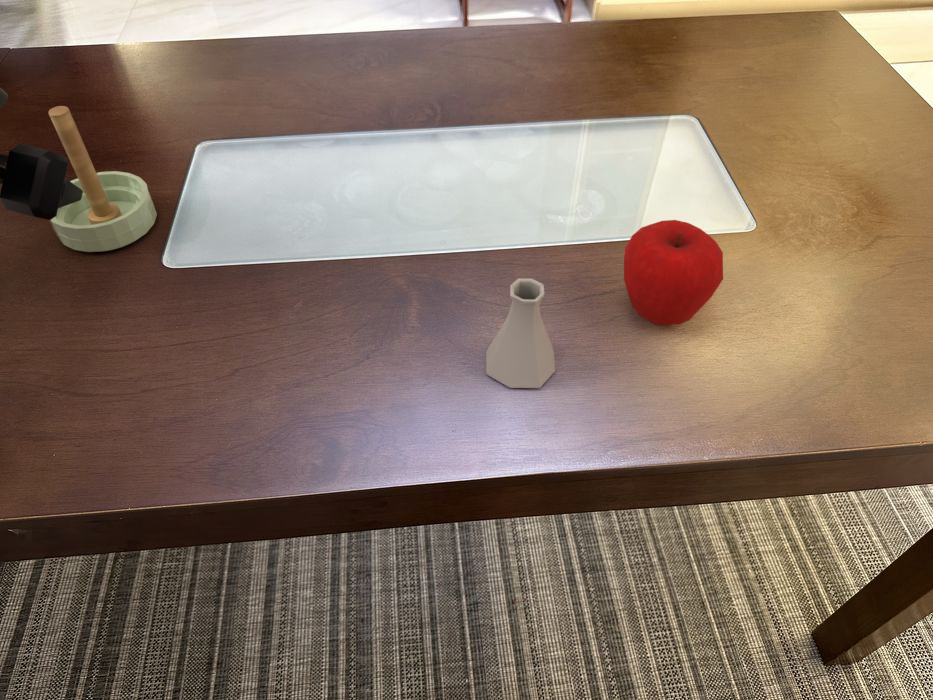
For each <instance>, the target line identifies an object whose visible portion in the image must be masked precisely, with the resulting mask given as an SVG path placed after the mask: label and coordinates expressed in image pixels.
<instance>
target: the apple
mask: <svg viewBox="0 0 933 700" xmlns="http://www.w3.org/2000/svg"><path fill="white" fill-rule="evenodd" d="M723 280H724V252H723V250H722V249H721V247H720V245H719V244H718V242H717V241H716V240H715V239H714V238H713V237H712V236H711V235H709V234H708V233H707V232H706V231H704V230H703V229H701V228H700V227H698V226H695V225H694V224H692V223H689V222H686V221H681V220H678V219H667V220H660V221H656V222H654V223H651V224H648V225H645V226H642V227H640V228H639V229H638V230H637V231H636V232H634V234H633V233H632V235H631V237H630V238H629V240H628V242H627V244H626V246H625V247H624V255H623V281H624V285H625V288H626V292H627V295H628V298H629V302H630V305H631V308H632V309H633V310H634V312H636V314H637V315H638V316H639V317H641V318H642V319H644V320H646V321H648V322H650V323H651V324H655V325H659V326H674V325H675V326H677V325H681V324H683V323H686V322H688V321H690V320H691V319H692V318H693V317H694V316H695V315H696V314H697V313H698V312H699V311H700V310H701V309H702V308H703V306H705V305H706V303H708V302H709V300H710V299H711V298H713V296H714V294H715V292H717V290H718V288H719V287H720V285H721V283H722V282H723Z"/></svg>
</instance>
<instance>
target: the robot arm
mask: <svg viewBox="0 0 933 700" xmlns="http://www.w3.org/2000/svg"><path fill="white" fill-rule="evenodd" d="M8 100H9V95H8V93H7V92H6V91H5V90H4V89H3V88H1V87H0V110H1V109H2V107H5V106H6V104H7V103H8ZM68 166H69V162H68V159H67V157H66V156H65V155H63V154H60V153H58V152H55V151H52V150H49V149H48V150H47V149H44V148H40V147H36V146H32V145H28V144H24V143H18V144H17V145H16V146H14V147H12V148H11V149H9V150H8V155H7V154H3V153H0V185H1V188H0V201H1V203H2V205H3V208H4V209H5V210H9V211H12V212H15V213H19V214H23V215H27V216H30V217H33V218H39V219H42V220H47V221H49V220H51V219H53V218H54V217H55V216H57V211H58V208H61V207H63V206H66V205H69V204H72V203H75V202H77V201H80V200H81V198H82V193H83V191H82V189H80V188H79V187H77V186H76V185H74V184H73V183H72V182H70V181H71V180H69V179H67V178H66V175H67V171H68Z"/></svg>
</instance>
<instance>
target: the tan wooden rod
mask: <svg viewBox="0 0 933 700" xmlns="http://www.w3.org/2000/svg"><path fill="white" fill-rule="evenodd" d="M47 114H48V116H49V118H50V120H51V122H52V124H53V126H54V128H55V131H56V134H57V136H58V138H59V140H60V142H61V145H62V147H63V149H64V150H65V153H66V155H67V157H68V159H69V162H70V164H71V166H72V169H73V170H74V173H75V175H76V177H77V178H78V179H79V182H80V184H81V186H82V188H83V190H84V193H85V195H86V197H87V199H88V201H89V203H90V206H91V209H90V210H89V211H88V214H87V217H88V219H89V221H90V223H91V225H94V224H99V223H103V222H108V221H111V220H113V219H115V218H118V217H120V216H122V213H121V211H120V209H119V207H118V206H117V205H116V204H113V203H109V201H108V199H107V197H106V194H105V192H104V190H103V187H102V185H101V183H100V180H99V178H98V176H97V173H98V172H97V171H96V169H95V166H94V164H93V162H92V160H91V157H90V155H89V151H88V150H87V148H86V146H85V143H84V141H83V139H82V136H81V134H80V131H79V129H78V127H77V124H76V122H75V120H74V117H73V115H72V113H71V111H70V109H69V107H68V106H66V105H57V106H54V107H52V108H50V109H49V110H48V113H47Z"/></svg>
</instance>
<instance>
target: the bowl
mask: <svg viewBox="0 0 933 700" xmlns="http://www.w3.org/2000/svg"><path fill="white" fill-rule="evenodd" d="M96 173H97V176H98V178H99V180H100V183H101V185H102V187H103V190H104V192H105V194H106V197H107V199H108V201H109V203H113V204H116V205H117V206H118V207H119V209H120V211H121V213H122V216H120V217H118V218H115V219H113V220H111V221H108V222H103V223H99V224H94V225H91V223H90V221H89V219H88V217H87V214H88V211H89V210H90V209H91V206H90V203H89V201H88V199H87V197H86V195H85V193H84V190H83V188H82V186H81V184H80V182H79V179H78V177H77V178H75V179H71V180H69V181H70V182H72V183H73V184H74V185H76V186H77V187H79V188H80V189H82V191H83V193H82V198H81V200H80V201H77V202H75V203H72V204H69V205H66V206H63V207H61V208H58V211H57V216H55V217H54V218H53V219H51V220H48V221H49V223H50V225H51V227H52V229H53V231H54V233H55V235H56V236H57V239H58V240H59V241H60V242H61V243H62V245H64V246H66V247H68V248H69V249H72V250H74V251H78V252H84V253H85V252H86V253H96V252H97V253H98V252H99V253H100V252H109V251H113V250H118V249H121V248H124V247H126V246H128V245H130V244H132V243H134V242H136V241H137V240H139V239H140V238H141V237H143V236H144V235H146V234H147V233H149V231H150V230H151V228H152V227H153V226H154V225H155V223H156V220H157V216H158V212H157V209H156V205H155V203H154V199H153V197H152V194H151V192H150V190H149V186H148V184H147V182H145V181H144V180H143V179H142V178H141V177H140V176H137V175H136V174H133V173H130V172H124V171H117V170H112V171H100V172H96Z"/></svg>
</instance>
